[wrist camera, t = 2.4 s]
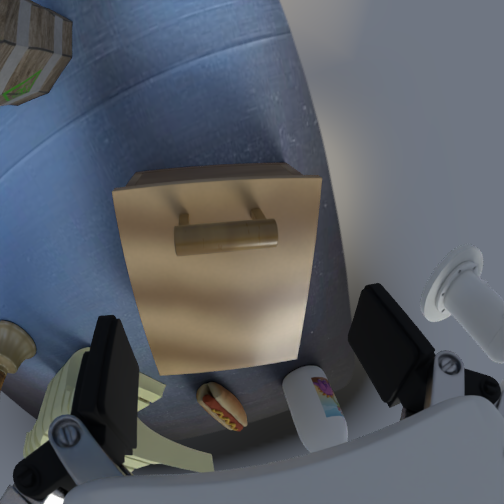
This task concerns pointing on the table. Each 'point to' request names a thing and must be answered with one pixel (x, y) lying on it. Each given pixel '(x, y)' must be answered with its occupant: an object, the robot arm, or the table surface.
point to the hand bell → (13, 348)
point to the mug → (31, 50)
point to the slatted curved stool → (148, 441)
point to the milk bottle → (314, 409)
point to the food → (222, 406)
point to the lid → (220, 267)
